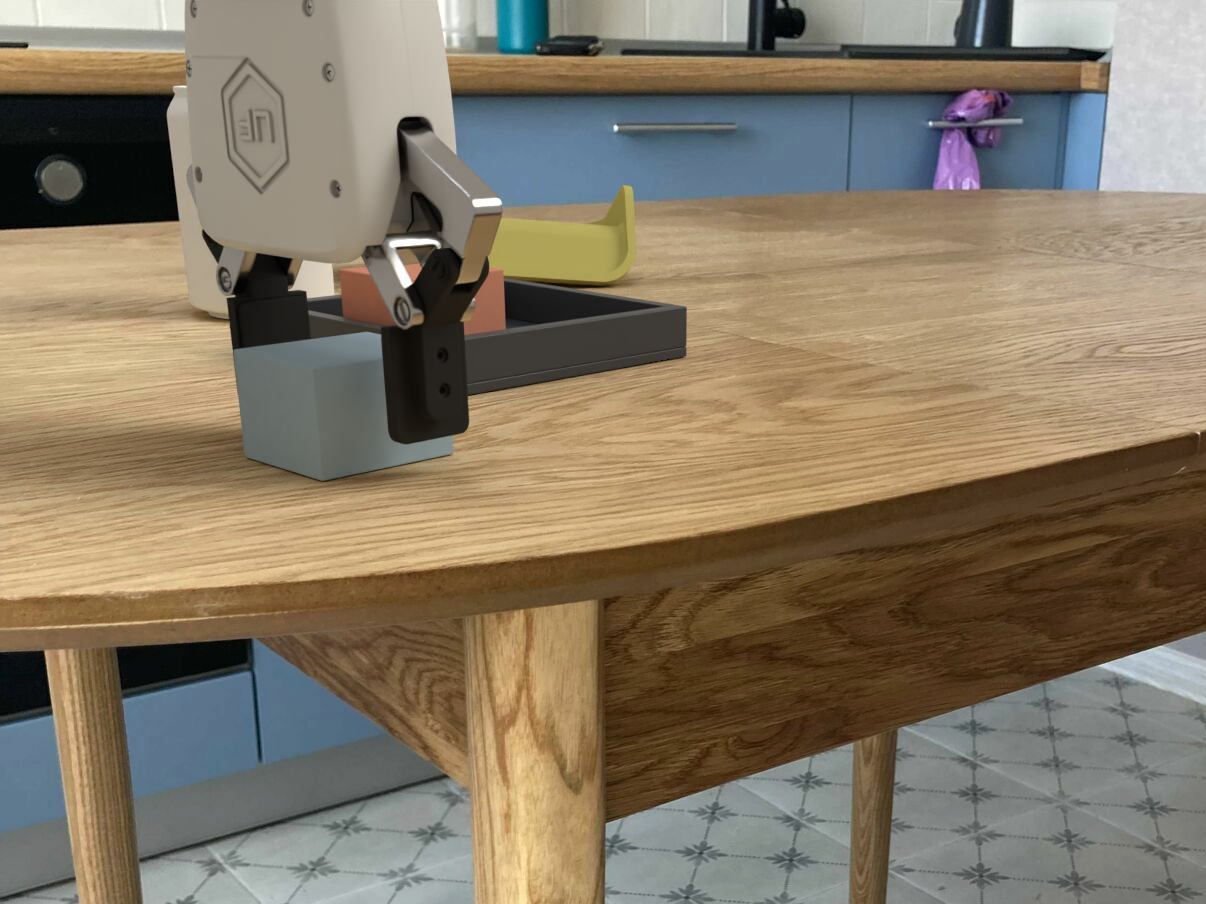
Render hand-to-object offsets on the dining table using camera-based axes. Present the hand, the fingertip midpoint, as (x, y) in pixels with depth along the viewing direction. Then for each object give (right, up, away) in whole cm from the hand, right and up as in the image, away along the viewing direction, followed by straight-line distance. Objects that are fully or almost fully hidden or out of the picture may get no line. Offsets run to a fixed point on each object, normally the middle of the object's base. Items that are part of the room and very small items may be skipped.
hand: (350, 416), depth 58 cm
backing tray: (+1, +7, +20) cm, 22 cm away
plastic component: (-2, +20, +48) cm, 52 cm away
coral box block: (-1, +7, +18) cm, 19 cm away
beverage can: (-13, +13, +32) cm, 36 cm away
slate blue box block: (0, -1, +1) cm, 2 cm away
